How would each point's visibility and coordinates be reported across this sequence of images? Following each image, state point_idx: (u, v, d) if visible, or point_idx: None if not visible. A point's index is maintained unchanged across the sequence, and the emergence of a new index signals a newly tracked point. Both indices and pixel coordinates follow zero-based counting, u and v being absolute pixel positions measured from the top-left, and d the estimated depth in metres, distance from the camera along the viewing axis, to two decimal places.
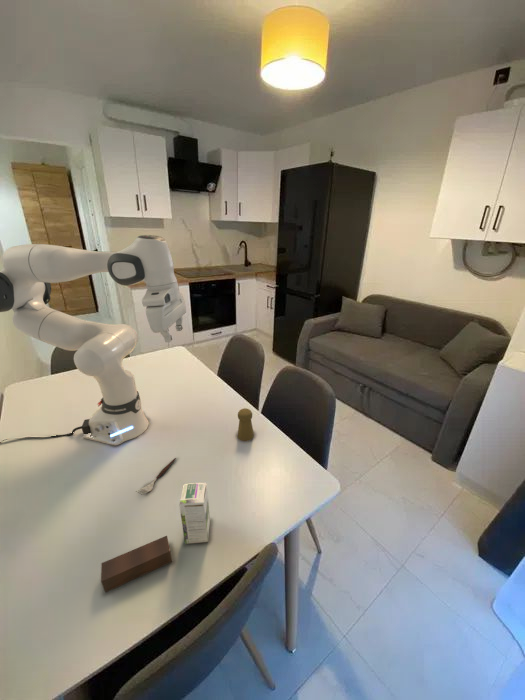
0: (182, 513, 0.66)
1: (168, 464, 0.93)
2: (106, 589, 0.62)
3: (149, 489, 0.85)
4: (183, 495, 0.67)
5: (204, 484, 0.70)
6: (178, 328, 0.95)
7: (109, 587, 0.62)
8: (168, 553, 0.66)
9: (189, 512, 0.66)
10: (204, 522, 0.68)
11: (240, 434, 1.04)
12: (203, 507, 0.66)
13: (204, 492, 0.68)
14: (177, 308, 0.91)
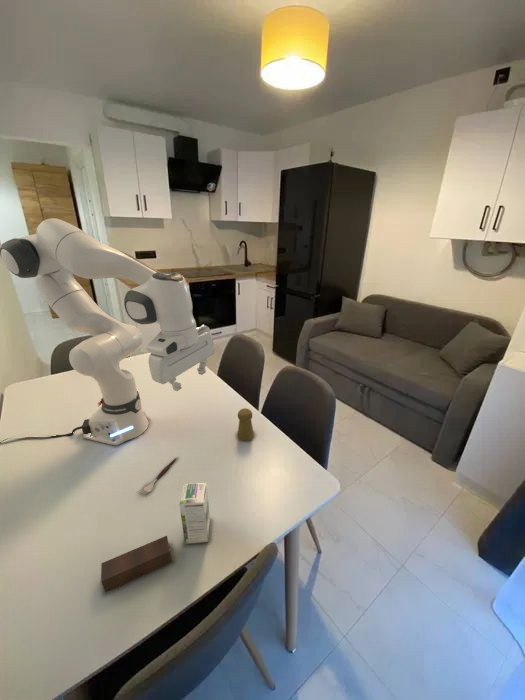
0: (182, 513, 0.66)
1: (168, 465, 0.93)
2: (106, 589, 0.62)
3: (149, 490, 0.85)
4: (183, 495, 0.67)
5: (204, 484, 0.70)
6: (199, 371, 0.84)
7: (109, 587, 0.62)
8: (168, 553, 0.66)
9: (189, 512, 0.66)
10: (204, 522, 0.68)
11: (240, 434, 1.04)
12: (203, 507, 0.66)
13: (204, 492, 0.68)
14: (196, 352, 0.79)
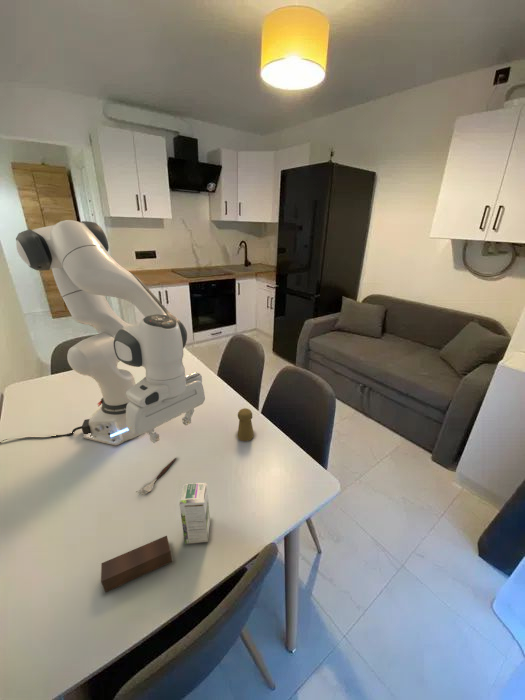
0: (182, 513, 0.66)
1: (168, 464, 0.93)
2: (106, 589, 0.62)
3: (149, 489, 0.85)
4: (183, 495, 0.67)
5: (204, 484, 0.70)
6: (184, 421, 0.77)
7: (109, 587, 0.62)
8: (168, 553, 0.66)
9: (189, 512, 0.66)
10: (204, 522, 0.68)
11: (240, 434, 1.04)
12: (203, 507, 0.66)
13: (204, 492, 0.68)
14: (182, 402, 0.72)
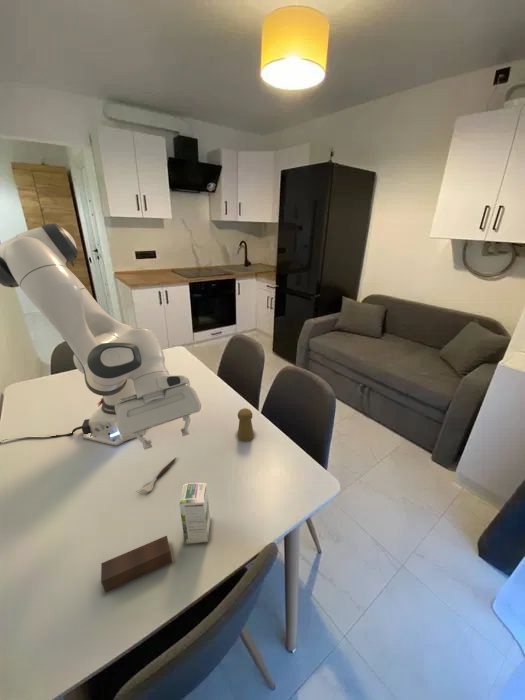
0: (182, 513, 0.66)
1: (168, 464, 0.93)
2: (106, 589, 0.62)
3: (149, 489, 0.85)
4: (183, 495, 0.67)
5: (204, 484, 0.70)
6: (150, 443, 0.71)
7: (109, 587, 0.62)
8: (168, 553, 0.66)
9: (189, 512, 0.66)
10: (204, 522, 0.68)
11: (240, 434, 1.04)
12: (203, 507, 0.66)
13: (204, 492, 0.68)
14: None
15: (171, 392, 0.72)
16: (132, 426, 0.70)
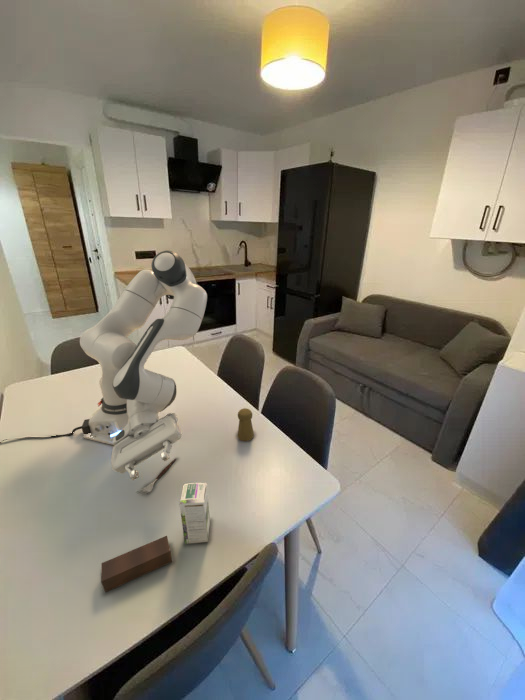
0: (182, 513, 0.66)
1: (168, 465, 0.93)
2: (106, 589, 0.62)
3: (149, 490, 0.85)
4: (183, 495, 0.67)
5: (204, 484, 0.70)
6: None
7: (109, 587, 0.62)
8: (168, 553, 0.66)
9: (189, 512, 0.66)
10: (204, 522, 0.68)
11: (240, 434, 1.04)
12: (203, 507, 0.66)
13: (204, 492, 0.68)
14: (151, 436, 0.81)
15: None
16: None
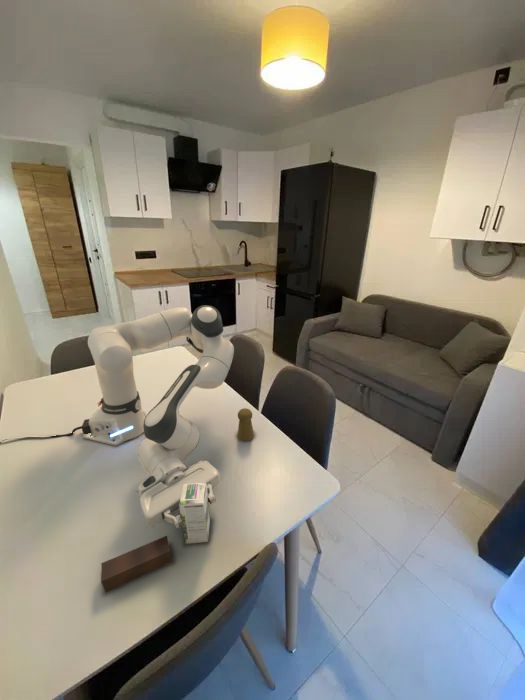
0: (182, 513, 0.66)
1: None
2: (106, 589, 0.62)
3: None
4: (183, 496, 0.67)
5: (204, 484, 0.70)
6: (209, 500, 0.72)
7: (109, 587, 0.62)
8: (168, 553, 0.66)
9: (189, 513, 0.66)
10: (204, 522, 0.68)
11: (240, 434, 1.04)
12: (203, 508, 0.66)
13: (204, 492, 0.68)
14: (190, 480, 0.76)
15: None
16: None
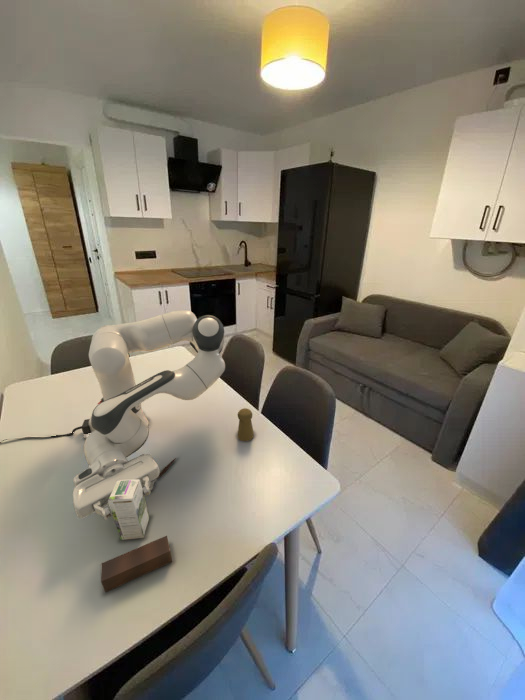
0: (112, 509, 0.67)
1: (168, 464, 0.93)
2: (106, 589, 0.62)
3: None
4: (114, 492, 0.68)
5: (137, 481, 0.71)
6: (143, 492, 0.73)
7: (109, 587, 0.62)
8: (168, 553, 0.66)
9: (119, 508, 0.67)
10: (136, 518, 0.69)
11: (240, 434, 1.04)
12: (132, 503, 0.67)
13: (135, 488, 0.69)
14: (127, 473, 0.77)
15: None
16: None
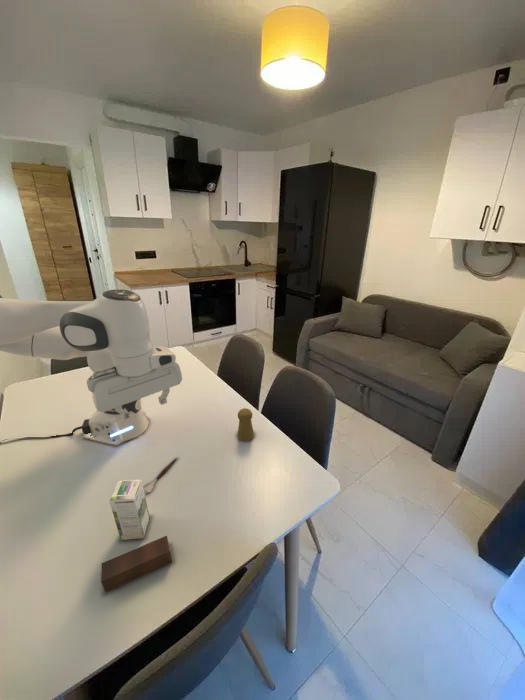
0: (113, 509, 0.67)
1: (168, 465, 0.93)
2: (106, 589, 0.62)
3: (149, 490, 0.85)
4: (115, 492, 0.68)
5: (139, 481, 0.71)
6: None
7: (109, 587, 0.62)
8: (168, 553, 0.66)
9: (121, 508, 0.67)
10: (137, 518, 0.69)
11: (240, 434, 1.04)
12: (134, 503, 0.67)
13: (137, 489, 0.69)
14: None
15: (159, 370, 0.69)
16: (114, 403, 0.65)
